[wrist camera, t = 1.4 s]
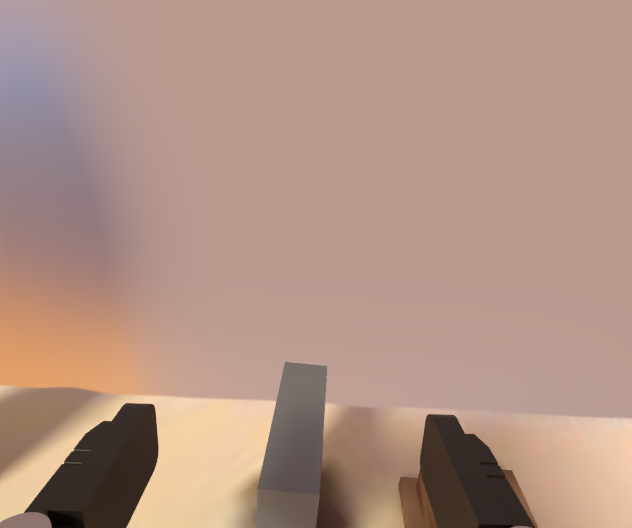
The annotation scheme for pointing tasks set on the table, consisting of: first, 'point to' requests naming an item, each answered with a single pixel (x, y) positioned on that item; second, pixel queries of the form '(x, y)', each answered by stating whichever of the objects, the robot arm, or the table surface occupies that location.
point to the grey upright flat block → (294, 451)
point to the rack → (419, 509)
